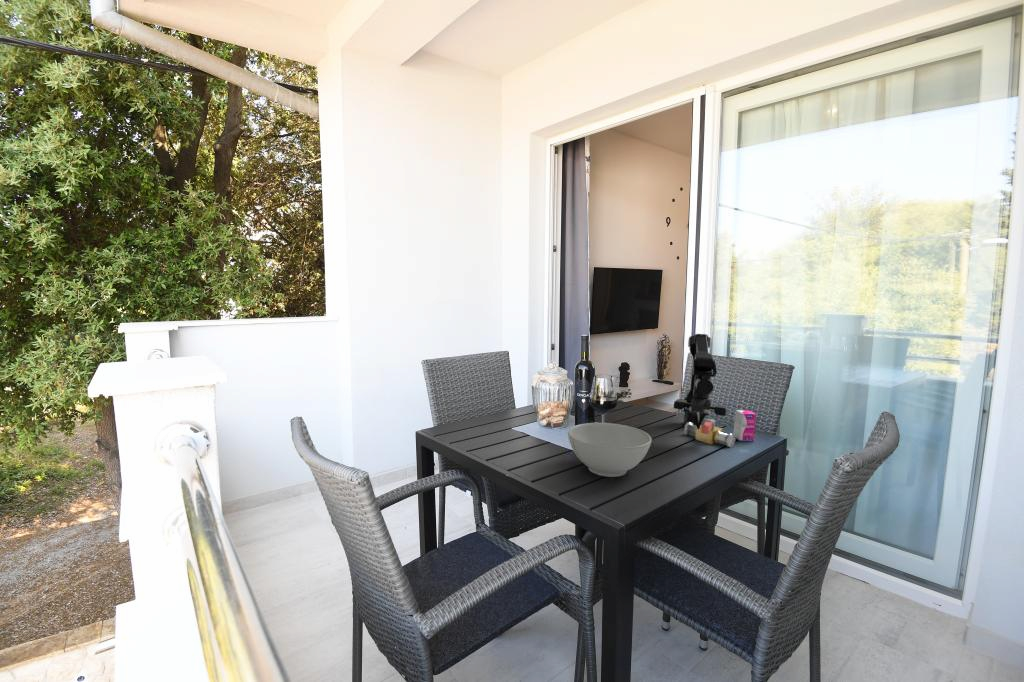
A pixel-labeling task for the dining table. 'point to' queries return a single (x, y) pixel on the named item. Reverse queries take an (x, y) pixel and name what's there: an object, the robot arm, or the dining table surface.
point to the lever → (708, 426)
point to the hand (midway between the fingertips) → (698, 428)
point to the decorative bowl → (609, 447)
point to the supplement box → (744, 425)
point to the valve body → (710, 435)
